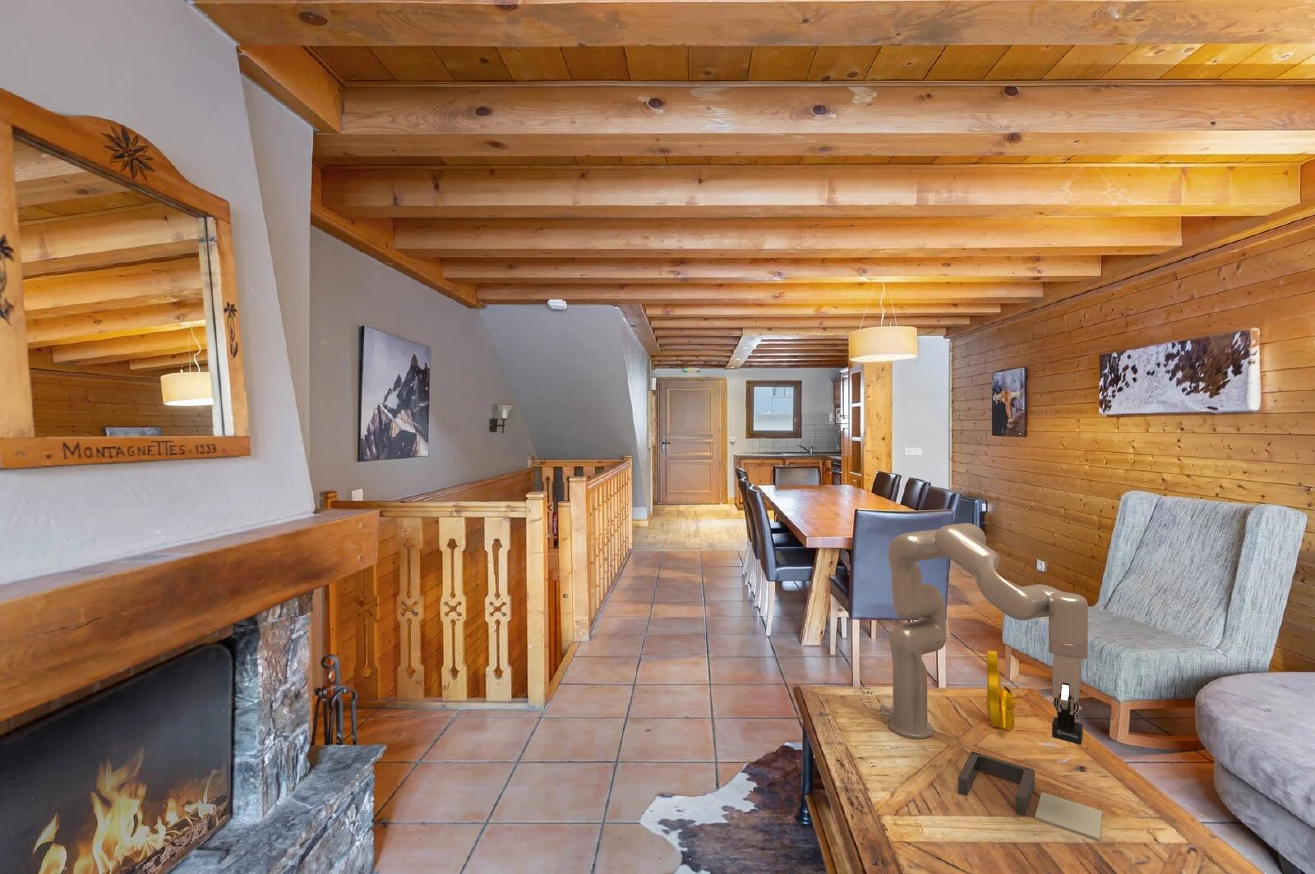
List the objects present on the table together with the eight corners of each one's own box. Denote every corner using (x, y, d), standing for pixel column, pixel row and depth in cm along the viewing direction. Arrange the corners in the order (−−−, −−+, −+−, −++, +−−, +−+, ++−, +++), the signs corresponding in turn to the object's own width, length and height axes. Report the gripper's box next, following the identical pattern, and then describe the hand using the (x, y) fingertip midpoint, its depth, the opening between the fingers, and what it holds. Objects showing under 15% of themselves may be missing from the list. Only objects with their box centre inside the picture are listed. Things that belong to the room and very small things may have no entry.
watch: (1051, 740, 138) (1051, 693, 138) (1055, 726, 144) (1055, 681, 144) (1080, 748, 134) (1081, 700, 134) (1083, 734, 141) (1083, 687, 140)
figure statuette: (1012, 741, 173) (1012, 665, 172) (981, 733, 177) (981, 659, 177) (1018, 717, 187) (1018, 646, 187) (990, 710, 192) (989, 641, 191)
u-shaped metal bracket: (958, 792, 148) (958, 776, 148) (971, 765, 160) (971, 750, 160) (1025, 815, 139) (1025, 798, 139) (1034, 785, 151) (1034, 769, 151)
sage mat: (1035, 818, 138) (1035, 816, 138) (1041, 794, 148) (1041, 791, 148) (1099, 840, 131) (1099, 838, 131) (1102, 813, 140) (1102, 810, 140)
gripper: (1052, 633, 148) (1052, 704, 148) (1044, 654, 134) (1044, 732, 135) (1090, 640, 143) (1090, 713, 144) (1085, 662, 130) (1085, 743, 130)
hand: (1067, 721), depth 139 cm, fingers closed on watch, 8 cm apart
